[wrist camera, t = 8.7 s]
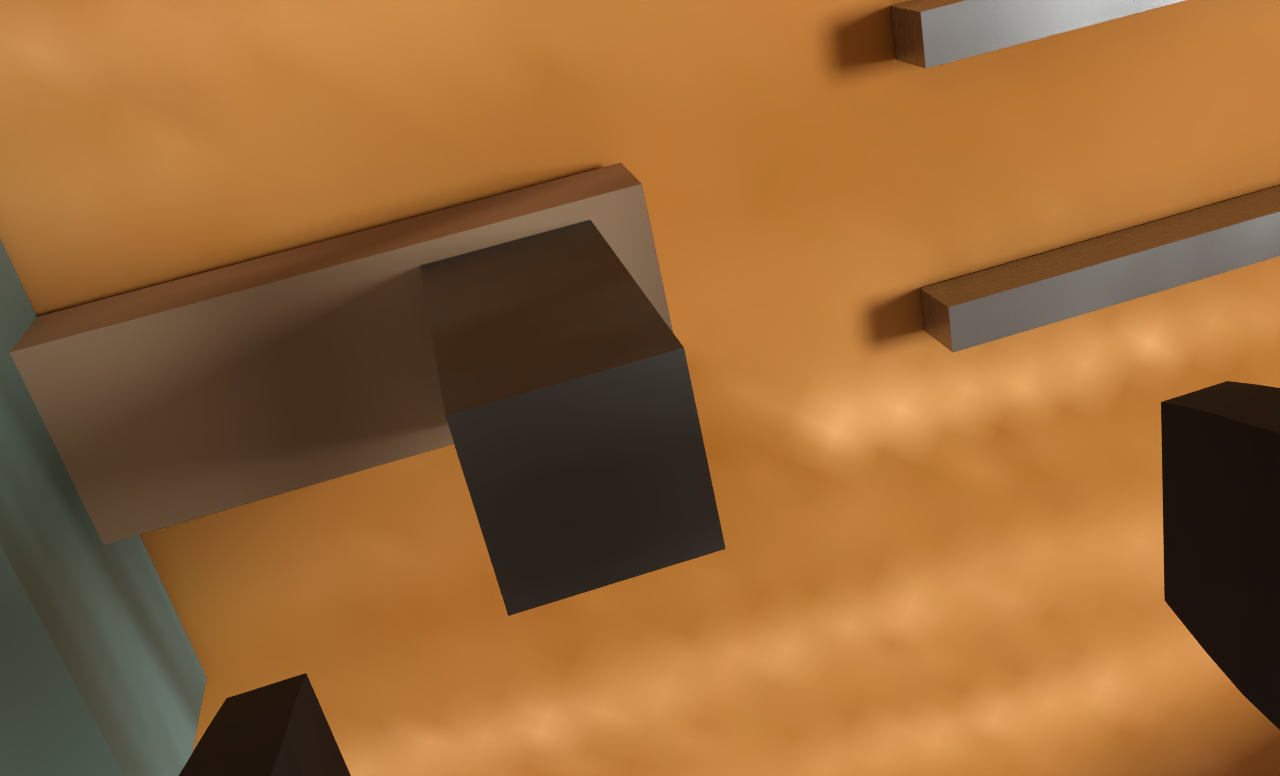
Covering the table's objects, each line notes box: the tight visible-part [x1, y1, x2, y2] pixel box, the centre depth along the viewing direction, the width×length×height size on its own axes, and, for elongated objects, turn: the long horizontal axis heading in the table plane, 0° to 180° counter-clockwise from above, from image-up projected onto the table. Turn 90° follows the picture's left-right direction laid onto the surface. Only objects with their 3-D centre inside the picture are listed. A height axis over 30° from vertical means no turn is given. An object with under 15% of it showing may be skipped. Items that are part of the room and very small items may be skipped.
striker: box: [0, 163, 725, 776], centre depth 14 cm, size 10×10×6 cm
